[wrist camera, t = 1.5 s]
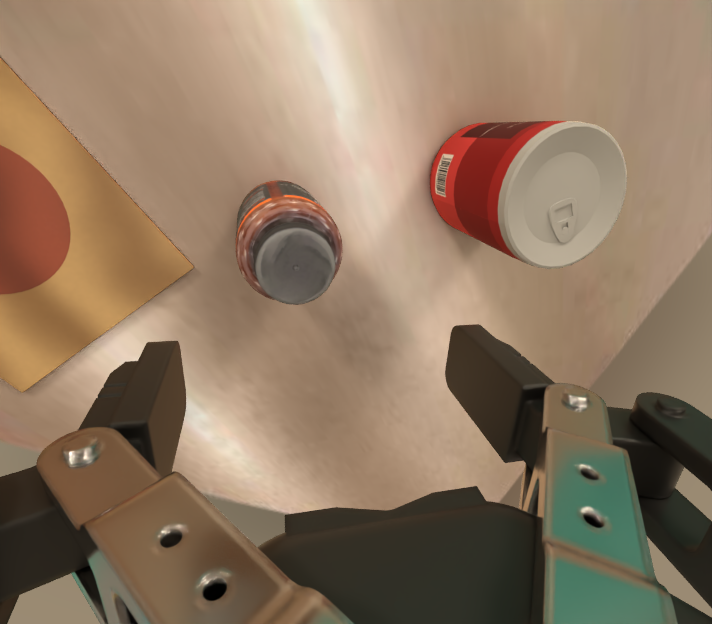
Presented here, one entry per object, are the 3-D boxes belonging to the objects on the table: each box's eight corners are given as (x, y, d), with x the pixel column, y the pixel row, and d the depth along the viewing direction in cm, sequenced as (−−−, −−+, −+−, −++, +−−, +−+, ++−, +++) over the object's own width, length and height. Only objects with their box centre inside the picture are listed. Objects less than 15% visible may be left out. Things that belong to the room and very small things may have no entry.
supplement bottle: (230, 251, 31) (221, 312, 21) (246, 168, 29) (244, 191, 19) (310, 268, 33) (336, 331, 22) (329, 191, 31) (368, 223, 20)
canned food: (453, 247, 35) (534, 295, 25) (407, 162, 31) (480, 179, 21) (531, 193, 34) (643, 219, 24) (493, 100, 31) (607, 88, 21)
